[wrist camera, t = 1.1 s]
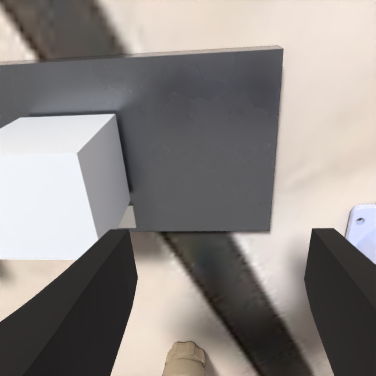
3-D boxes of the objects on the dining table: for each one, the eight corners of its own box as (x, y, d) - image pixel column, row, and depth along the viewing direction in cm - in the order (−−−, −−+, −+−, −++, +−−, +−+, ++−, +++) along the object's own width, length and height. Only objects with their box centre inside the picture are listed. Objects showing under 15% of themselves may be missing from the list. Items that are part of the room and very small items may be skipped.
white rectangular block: (115, 113, 16) (76, 153, 11) (135, 231, 19) (112, 295, 15) (20, 117, 16) (-53, 156, 12) (56, 231, 20) (11, 294, 15)
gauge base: (277, 45, 15) (323, 70, 9) (266, 216, 20) (289, 314, 14) (-162, 71, 18) (-382, 106, 11) (-78, 219, 23) (-198, 304, 16)
